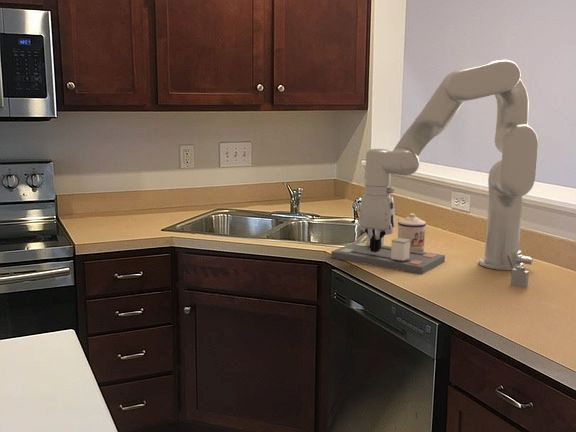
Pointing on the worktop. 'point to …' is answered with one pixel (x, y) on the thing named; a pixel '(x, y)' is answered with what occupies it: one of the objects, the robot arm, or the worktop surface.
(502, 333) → the worktop surface
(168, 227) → the worktop surface
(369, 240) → the on switch
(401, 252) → the beige slider knob
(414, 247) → the teacup with lid
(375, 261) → the panel
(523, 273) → the lighter
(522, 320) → the worktop surface
